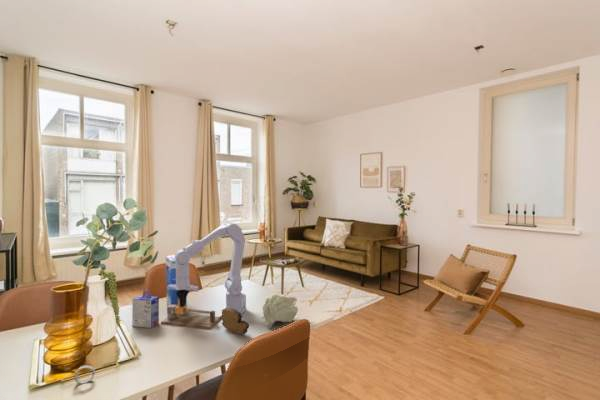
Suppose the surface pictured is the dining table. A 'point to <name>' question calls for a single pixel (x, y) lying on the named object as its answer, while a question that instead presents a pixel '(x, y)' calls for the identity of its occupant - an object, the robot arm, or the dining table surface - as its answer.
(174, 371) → the dining table surface
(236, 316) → the wooden carving
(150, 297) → the ink cartridge box
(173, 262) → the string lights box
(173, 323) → the cord rail
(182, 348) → the dining table surface
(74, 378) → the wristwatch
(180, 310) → the orange plastic bracket
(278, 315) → the folded clay sculpture
